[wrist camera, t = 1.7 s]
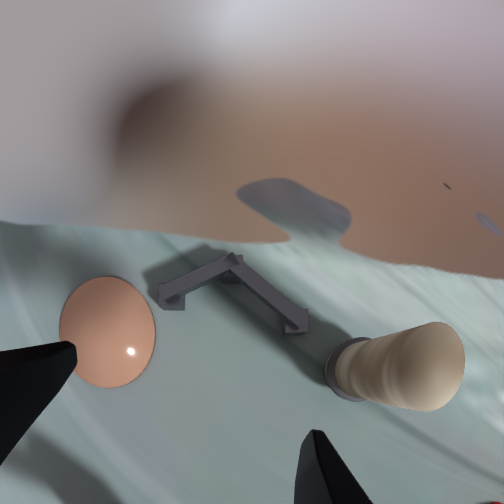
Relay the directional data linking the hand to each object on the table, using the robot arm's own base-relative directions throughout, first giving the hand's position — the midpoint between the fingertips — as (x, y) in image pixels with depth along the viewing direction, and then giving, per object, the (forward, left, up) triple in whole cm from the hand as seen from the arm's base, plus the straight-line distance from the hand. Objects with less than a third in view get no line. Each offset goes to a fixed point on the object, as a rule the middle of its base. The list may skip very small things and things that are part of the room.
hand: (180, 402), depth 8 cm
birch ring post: (0, -12, -15) cm, 19 cm away
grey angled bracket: (+7, -1, -15) cm, 17 cm away
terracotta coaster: (+4, +11, -15) cm, 19 cm away
